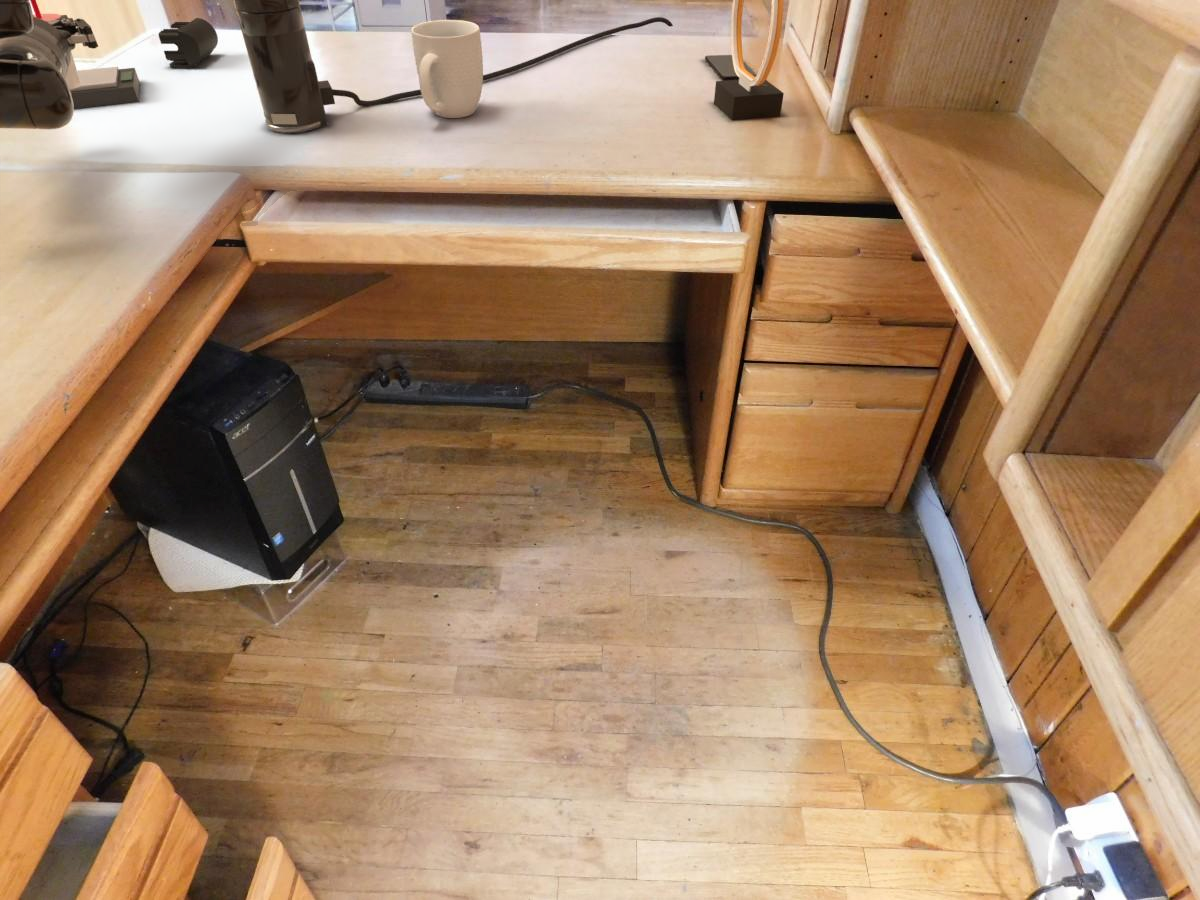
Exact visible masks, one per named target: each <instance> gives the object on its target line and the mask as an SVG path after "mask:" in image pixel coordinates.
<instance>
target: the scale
mask: <svg viewBox="0 0 1200 900" xmlns="http://www.w3.org/2000/svg"><path fill="white" fill-rule="evenodd" d="M77 72H78V76H79V79H80V83H81V86H80V87H78V88H75V89H70V91H71V95H72V99H73V105H74V110H75V109H83V108H84V109H85V108H95V107H103V106H112V105H120V104H121V105H122V104H128V103H139V101H140V84H141V82H140V79H139V75H138V73H137V70H136V68H135V67H129V68H128V67H127V68H119V66H110V67H100V68H89V69H79V70H78V69H77Z"/></svg>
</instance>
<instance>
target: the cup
mask: <svg viewBox="0 0 1200 900" xmlns="http://www.w3.org/2000/svg"><path fill="white" fill-rule="evenodd" d="M29 2H30V5H31V8H32V10H33V12H34V14H33V17H36V18H39V19H42V20H44V21H46V22H48V21H50V20H60V19H61V18H60V17H61V15H62V14H58V13H41V11H40V9H39V5H38V2H37V0H29ZM70 53H71V58H70V64H69V67H68V71H67V74H66V78H65V80H66V82H67V84H68V86H69V89H75V88H78V87H80V86H81V83H80V79H79V76H78V72H77V71H78V69H77V65H76V62H75V60H74V55H73V53H72V50H71V51H70Z"/></svg>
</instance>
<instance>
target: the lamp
mask: <svg viewBox="0 0 1200 900" xmlns="http://www.w3.org/2000/svg"><path fill="white" fill-rule="evenodd" d="M744 2H745V0H732V6H731V16H730V17H731V18H730V46H731V55H732V59H733V66H734V70H735V73H736V75H737V76H738V77H739V80H726V81H723V80H716V81H715V87H714V97H713V99H714V100H713V104H714V105H715V107H717V109H719V110H720V111H721V112H722V113H723V114H724V115H726V116H727V118H729V119H730V120H731V121H739V120H749V119H752V120H753V119H765V118H774V117H776V118H777V117H781V113H782V106H783V100H784V94H785V93H784V92H783V91H781V90H780V89H779V88H777V87H776V86H775V85H773V84H772V83H771V82H769V81H768V80H767V78H768V77H769V75H770V72H771V71H772V68H773V65H774V62H775V60H776V56H777V53H778V48H779V44H780V39H781V33H782V28H783V27H782V26H783V18H784V0H771V11H770V24H769V32H768V38H767V43H766V48H765V51H764V55H763V58H762V61H761V64H760V66H759V69H758V70H757V73H756V77H754V76H753V75H752V74H750V73H749V72H748V71H747V70H746V69H745V67H744V62H745V61H744V56H743V41H742V40H743V39H742V37H743V36H742V25H743V24H742V23H743V8H744ZM743 61H744V62H743Z"/></svg>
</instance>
